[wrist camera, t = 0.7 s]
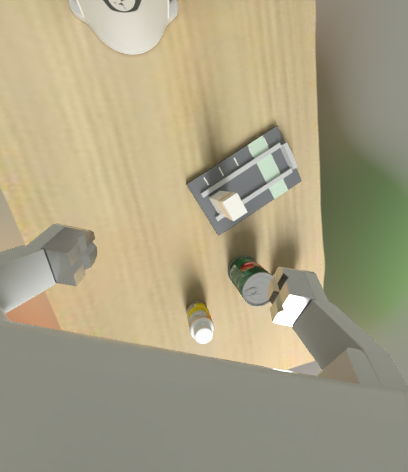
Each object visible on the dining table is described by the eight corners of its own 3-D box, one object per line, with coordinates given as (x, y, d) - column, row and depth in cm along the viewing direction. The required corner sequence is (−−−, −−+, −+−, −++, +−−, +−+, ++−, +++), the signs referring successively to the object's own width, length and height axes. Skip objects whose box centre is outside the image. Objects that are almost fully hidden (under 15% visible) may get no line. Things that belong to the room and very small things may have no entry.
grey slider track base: (186, 184, 49) (187, 184, 46) (274, 127, 49) (281, 123, 47) (217, 234, 53) (220, 237, 50) (298, 181, 54) (306, 180, 51)
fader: (208, 197, 49) (222, 202, 37) (219, 190, 49) (237, 192, 37) (217, 212, 50) (233, 221, 39) (228, 205, 50) (248, 212, 39)
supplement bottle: (205, 319, 58) (214, 347, 48) (184, 319, 57) (189, 347, 47) (208, 300, 57) (218, 325, 47) (188, 299, 56) (193, 324, 46)
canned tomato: (254, 252, 56) (275, 268, 45) (258, 279, 58) (279, 300, 48) (225, 260, 55) (239, 278, 44) (230, 287, 57) (245, 310, 47)
